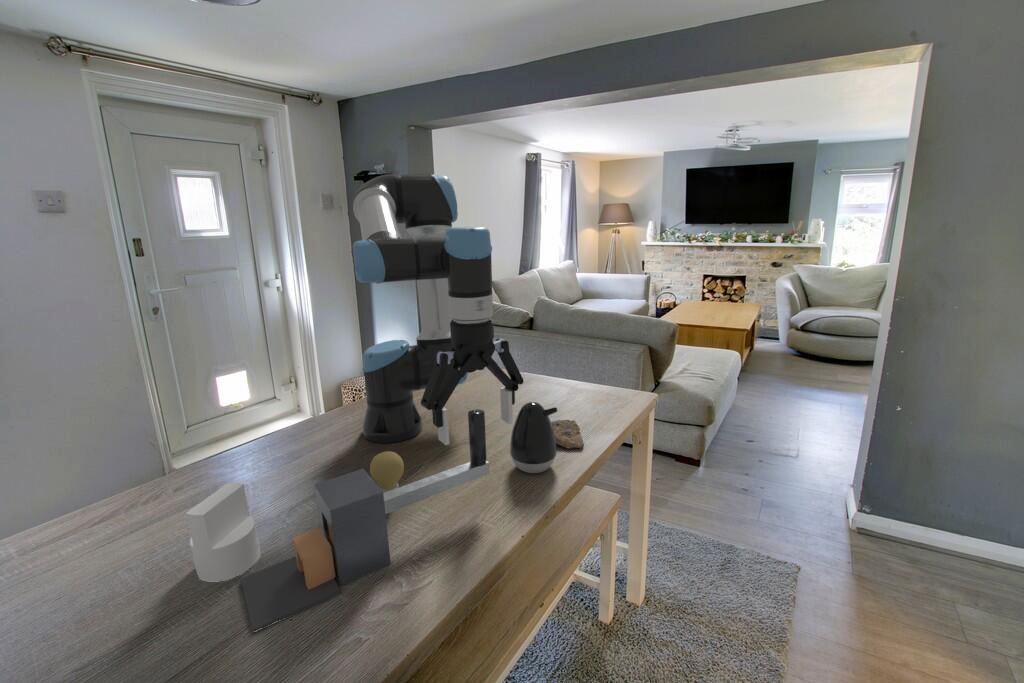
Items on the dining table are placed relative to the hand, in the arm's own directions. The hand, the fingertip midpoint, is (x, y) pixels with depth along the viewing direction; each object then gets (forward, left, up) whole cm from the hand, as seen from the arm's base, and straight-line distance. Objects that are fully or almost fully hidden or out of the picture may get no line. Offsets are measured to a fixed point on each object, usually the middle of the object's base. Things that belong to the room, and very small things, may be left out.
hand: (476, 431), depth 88 cm
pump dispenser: (-5, +17, -16) cm, 23 cm away
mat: (0, -34, -15) cm, 38 cm away
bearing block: (0, -24, -15) cm, 29 cm away
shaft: (0, -13, -9) cm, 16 cm away
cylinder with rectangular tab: (-12, -41, -16) cm, 46 cm away
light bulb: (-13, -13, -16) cm, 24 cm away
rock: (-10, +31, -16) cm, 36 cm away
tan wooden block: (0, -30, -15) cm, 34 cm away
